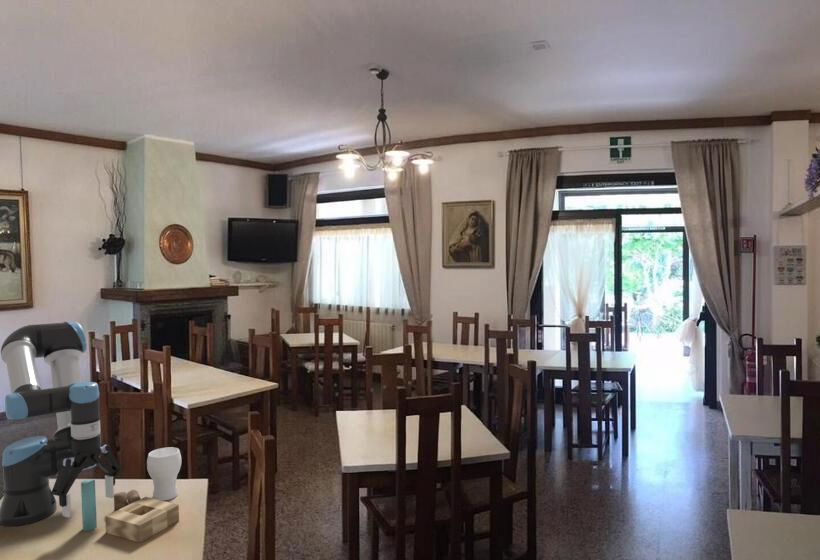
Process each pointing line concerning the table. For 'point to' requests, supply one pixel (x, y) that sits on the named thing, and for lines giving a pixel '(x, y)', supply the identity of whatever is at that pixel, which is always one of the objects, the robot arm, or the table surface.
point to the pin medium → (133, 496)
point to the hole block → (142, 519)
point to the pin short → (120, 500)
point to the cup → (164, 472)
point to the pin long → (88, 505)
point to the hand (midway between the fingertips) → (89, 506)
